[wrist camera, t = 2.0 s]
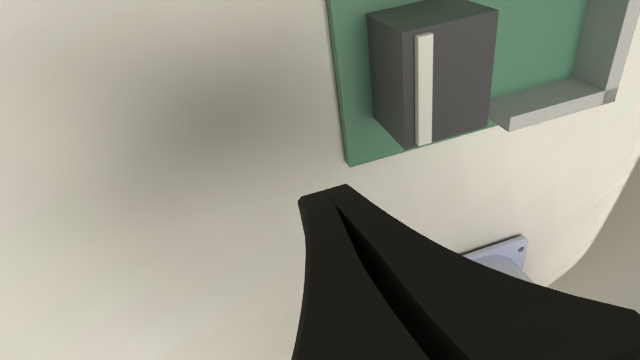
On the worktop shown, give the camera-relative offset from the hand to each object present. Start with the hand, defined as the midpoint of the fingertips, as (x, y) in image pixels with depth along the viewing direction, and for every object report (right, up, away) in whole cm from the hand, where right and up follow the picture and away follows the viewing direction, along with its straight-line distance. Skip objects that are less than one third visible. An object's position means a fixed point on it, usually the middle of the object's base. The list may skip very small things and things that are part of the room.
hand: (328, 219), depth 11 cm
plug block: (+4, +7, +9) cm, 12 cm away
